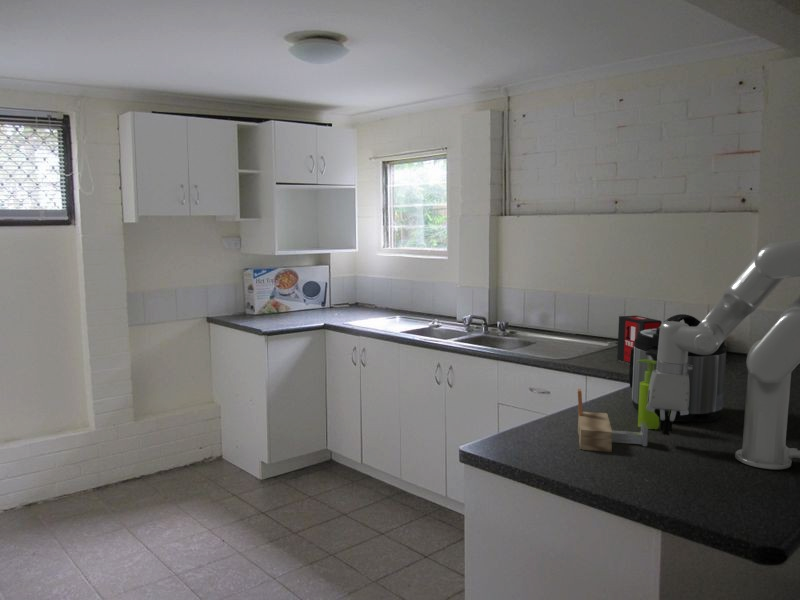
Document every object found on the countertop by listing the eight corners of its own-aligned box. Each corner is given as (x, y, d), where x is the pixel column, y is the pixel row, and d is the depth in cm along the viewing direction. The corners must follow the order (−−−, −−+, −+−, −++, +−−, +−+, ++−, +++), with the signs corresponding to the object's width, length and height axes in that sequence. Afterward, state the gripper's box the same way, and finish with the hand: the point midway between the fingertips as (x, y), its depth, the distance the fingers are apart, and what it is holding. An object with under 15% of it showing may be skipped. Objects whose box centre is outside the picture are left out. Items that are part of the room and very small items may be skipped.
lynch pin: (644, 440, 185) (645, 422, 185) (647, 446, 180) (648, 427, 180) (584, 435, 189) (584, 417, 188) (584, 441, 184) (585, 423, 183)
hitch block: (606, 431, 194) (607, 413, 193) (611, 451, 176) (612, 432, 176) (577, 429, 195) (578, 411, 195) (580, 449, 178) (580, 429, 177)
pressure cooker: (691, 399, 230) (696, 308, 226) (746, 423, 202) (753, 320, 199) (610, 402, 225) (614, 309, 221) (655, 428, 197) (660, 321, 194)
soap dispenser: (638, 421, 203) (641, 357, 201) (661, 426, 199) (664, 360, 196) (631, 426, 199) (634, 360, 196) (654, 431, 194) (658, 363, 192)
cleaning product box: (659, 368, 279) (661, 320, 277) (641, 369, 277) (643, 321, 275) (634, 360, 295) (636, 315, 293) (617, 361, 292) (619, 316, 290)
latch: (581, 388, 192) (577, 388, 193) (581, 391, 190) (577, 391, 190) (582, 412, 193) (578, 412, 193) (582, 415, 190) (579, 415, 191)
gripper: (698, 367, 181) (691, 432, 184) (640, 362, 184) (634, 426, 187) (704, 373, 174) (697, 441, 176) (643, 368, 177) (637, 434, 180)
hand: (665, 433), depth 182 cm, fingers closed
